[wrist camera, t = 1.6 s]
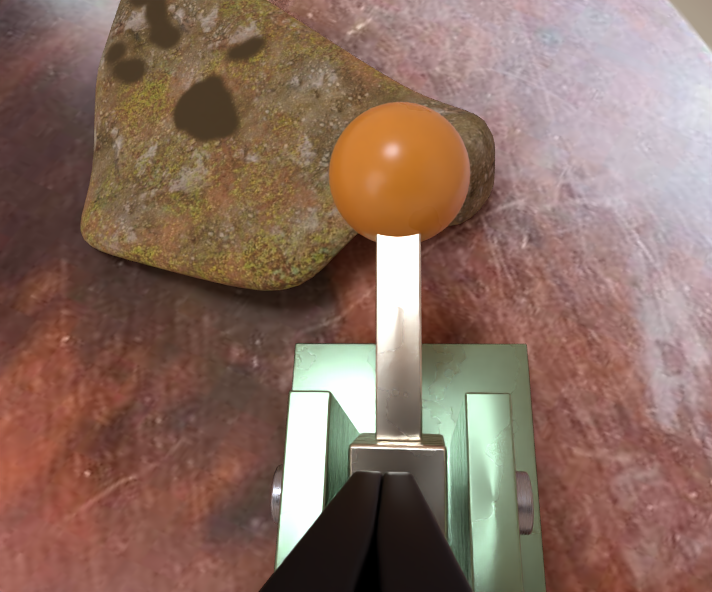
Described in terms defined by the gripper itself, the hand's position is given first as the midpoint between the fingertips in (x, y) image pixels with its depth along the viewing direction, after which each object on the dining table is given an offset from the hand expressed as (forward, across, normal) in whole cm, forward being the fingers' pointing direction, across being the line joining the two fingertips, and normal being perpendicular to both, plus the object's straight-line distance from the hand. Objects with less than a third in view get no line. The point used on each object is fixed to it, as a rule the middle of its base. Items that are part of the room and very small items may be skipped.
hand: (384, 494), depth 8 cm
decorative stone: (+22, +10, -2) cm, 24 cm away
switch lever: (+8, 0, +1) cm, 8 cm away
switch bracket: (+10, 0, +10) cm, 14 cm away
